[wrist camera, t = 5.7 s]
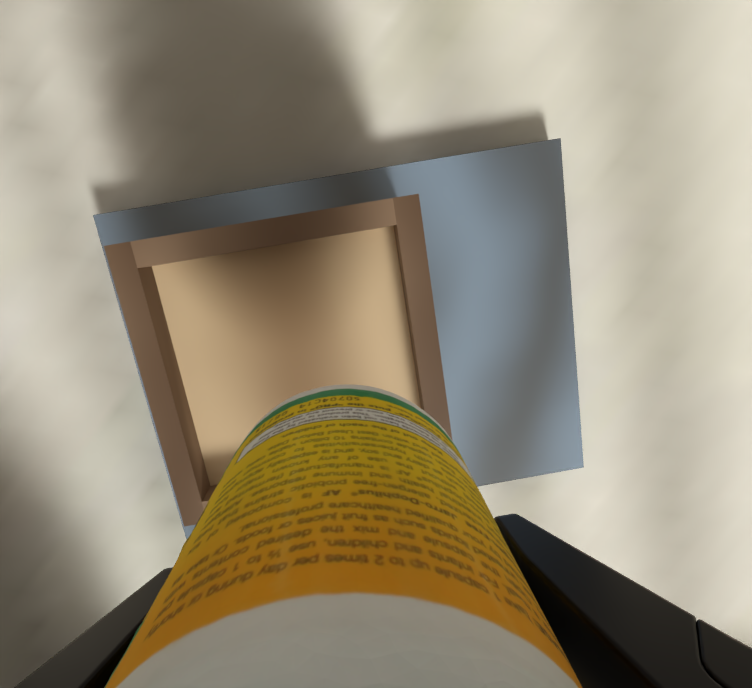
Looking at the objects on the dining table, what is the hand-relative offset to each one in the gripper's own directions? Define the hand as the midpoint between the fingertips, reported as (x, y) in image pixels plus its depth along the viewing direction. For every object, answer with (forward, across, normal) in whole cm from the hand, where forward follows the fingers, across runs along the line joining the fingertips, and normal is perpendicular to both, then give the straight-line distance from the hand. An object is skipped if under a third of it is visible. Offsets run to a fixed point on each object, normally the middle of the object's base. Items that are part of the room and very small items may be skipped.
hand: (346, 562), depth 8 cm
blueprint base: (+13, -1, -1) cm, 13 cm away
